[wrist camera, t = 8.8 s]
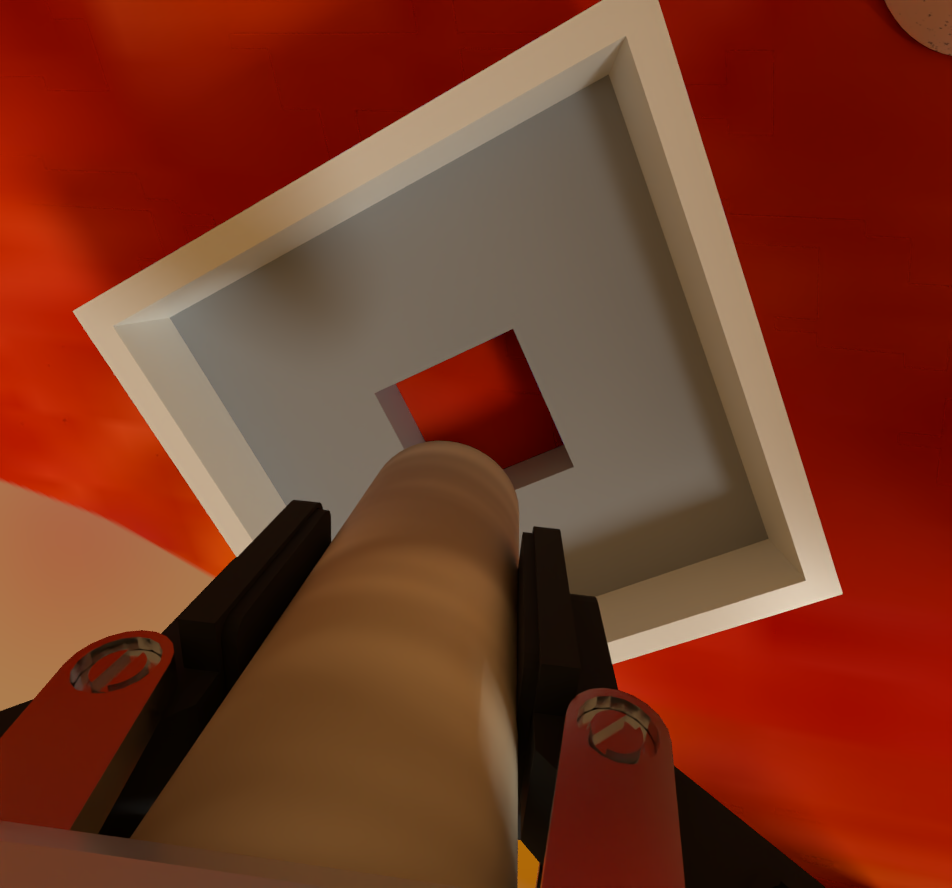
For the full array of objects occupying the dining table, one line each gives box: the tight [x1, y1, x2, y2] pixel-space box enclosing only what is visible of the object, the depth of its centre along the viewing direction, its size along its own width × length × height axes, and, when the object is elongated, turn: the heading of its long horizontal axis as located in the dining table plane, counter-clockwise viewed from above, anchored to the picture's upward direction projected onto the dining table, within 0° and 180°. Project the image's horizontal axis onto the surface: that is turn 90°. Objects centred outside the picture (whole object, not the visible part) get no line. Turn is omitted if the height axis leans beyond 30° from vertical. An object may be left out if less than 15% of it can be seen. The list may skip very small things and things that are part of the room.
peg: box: [130, 441, 519, 888], centre depth 9 cm, size 4×4×10 cm
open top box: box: [73, 0, 843, 664], centre depth 21 cm, size 20×20×6 cm
